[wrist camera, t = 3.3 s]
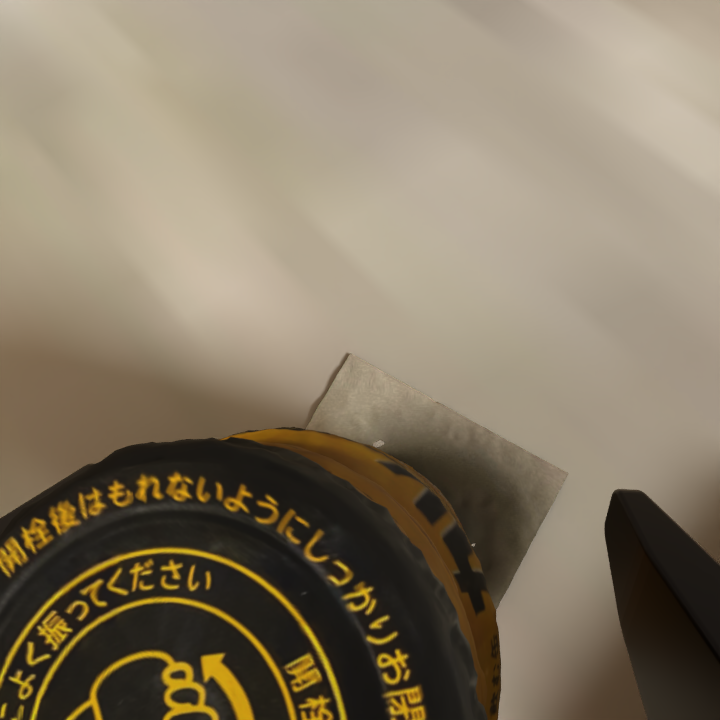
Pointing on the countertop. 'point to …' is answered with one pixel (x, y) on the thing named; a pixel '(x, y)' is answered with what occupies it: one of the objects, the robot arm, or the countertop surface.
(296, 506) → the condiment
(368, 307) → the countertop surface
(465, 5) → the countertop surface
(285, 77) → the countertop surface
